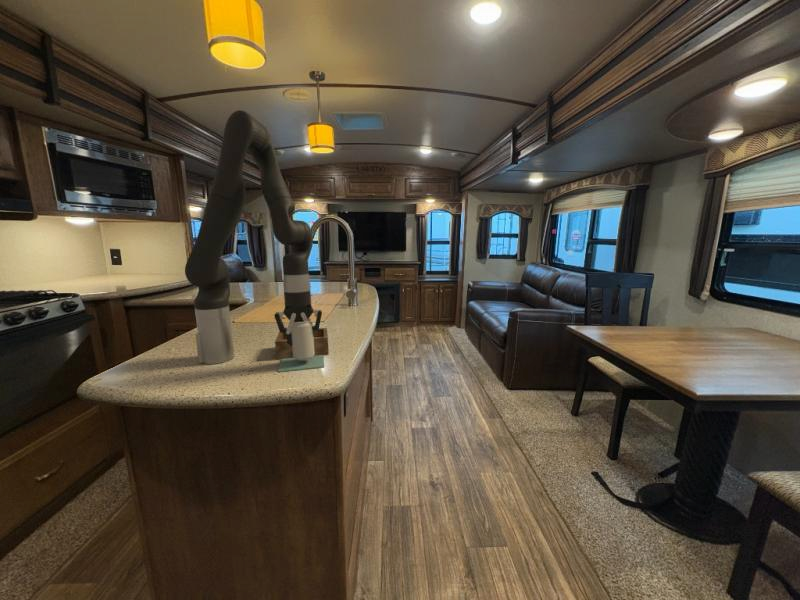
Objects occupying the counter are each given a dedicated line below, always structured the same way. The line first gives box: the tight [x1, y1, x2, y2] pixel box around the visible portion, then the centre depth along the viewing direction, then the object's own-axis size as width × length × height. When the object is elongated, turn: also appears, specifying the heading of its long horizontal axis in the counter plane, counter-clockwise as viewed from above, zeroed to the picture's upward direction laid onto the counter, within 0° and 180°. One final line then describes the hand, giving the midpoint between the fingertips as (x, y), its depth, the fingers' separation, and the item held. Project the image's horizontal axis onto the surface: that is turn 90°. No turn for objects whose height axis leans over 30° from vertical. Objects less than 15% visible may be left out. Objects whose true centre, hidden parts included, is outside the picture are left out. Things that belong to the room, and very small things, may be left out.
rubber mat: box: [277, 355, 325, 373], centre depth 95 cm, size 13×10×1 cm
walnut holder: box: [274, 327, 330, 360], centre depth 106 cm, size 16×12×6 cm
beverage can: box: [291, 318, 315, 360], centre depth 94 cm, size 6×6×12 cm
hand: (300, 344), depth 94 cm, fingers closed on beverage can, 5 cm apart
